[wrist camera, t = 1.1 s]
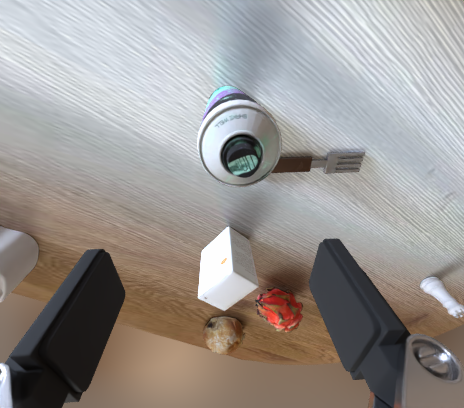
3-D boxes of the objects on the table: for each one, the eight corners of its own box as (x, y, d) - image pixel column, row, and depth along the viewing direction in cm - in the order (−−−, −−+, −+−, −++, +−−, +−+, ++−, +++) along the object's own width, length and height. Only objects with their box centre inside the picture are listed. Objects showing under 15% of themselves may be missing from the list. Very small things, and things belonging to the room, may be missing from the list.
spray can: (256, 103, 28) (317, 149, 11) (233, 138, 30) (254, 221, 13) (221, 75, 26) (230, 81, 9) (199, 115, 29) (173, 178, 12)
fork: (251, 174, 34) (252, 176, 33) (252, 155, 32) (253, 156, 31) (357, 171, 34) (359, 172, 34) (363, 151, 33) (366, 153, 32)
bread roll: (227, 299, 56) (217, 322, 48) (254, 328, 55) (249, 356, 48) (203, 317, 59) (190, 341, 52) (229, 344, 59) (220, 372, 51)
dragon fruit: (292, 298, 54) (253, 277, 51) (318, 300, 46) (273, 276, 44) (284, 335, 50) (241, 314, 47) (310, 344, 42) (261, 319, 40)
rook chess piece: (414, 286, 52) (444, 319, 45) (428, 274, 49) (462, 306, 43) (428, 289, 52) (460, 321, 46) (442, 277, 50) (478, 309, 43)
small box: (222, 263, 43) (224, 312, 34) (200, 250, 41) (196, 299, 32) (250, 239, 41) (260, 287, 32) (228, 224, 38) (232, 271, 29)
